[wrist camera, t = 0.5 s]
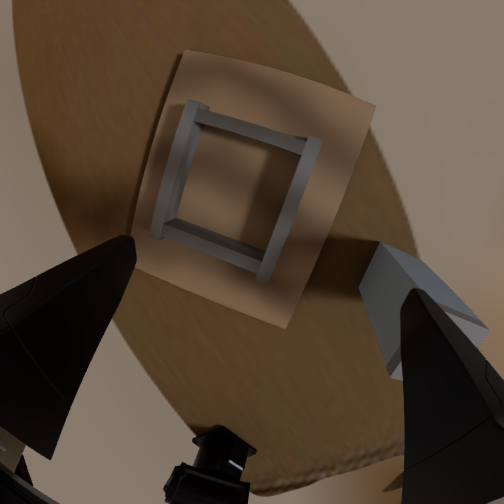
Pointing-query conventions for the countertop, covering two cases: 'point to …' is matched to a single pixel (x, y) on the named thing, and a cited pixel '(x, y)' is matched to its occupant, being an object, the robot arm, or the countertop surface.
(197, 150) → the jig cradle
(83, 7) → the countertop surface
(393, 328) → the block
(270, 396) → the countertop surface
